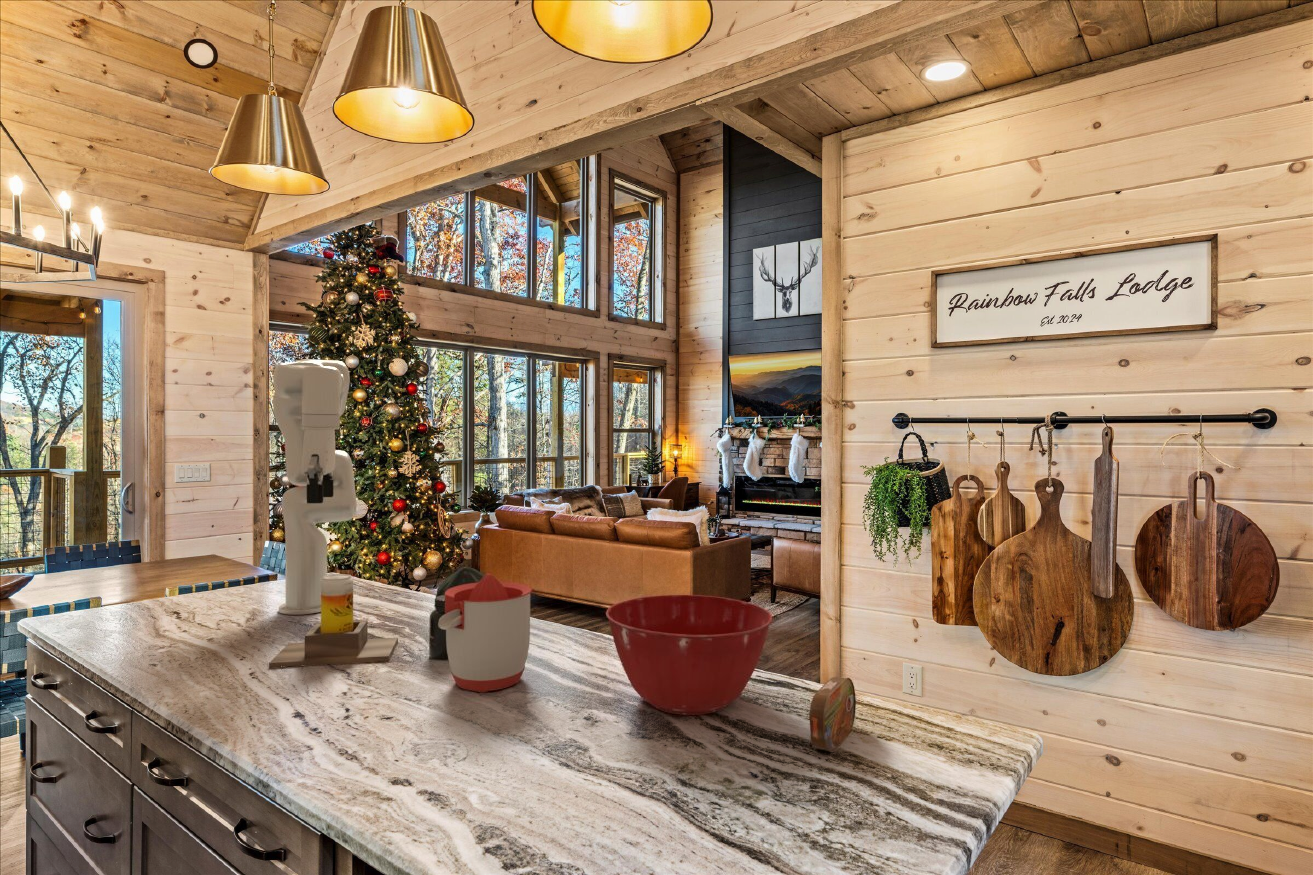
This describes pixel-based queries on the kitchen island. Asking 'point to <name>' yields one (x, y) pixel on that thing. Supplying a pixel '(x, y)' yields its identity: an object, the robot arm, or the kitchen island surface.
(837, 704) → the tin
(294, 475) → the robot arm
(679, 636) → the mixing bowl
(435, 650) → the supplement bottle
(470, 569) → the squash
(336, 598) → the beer can
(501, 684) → the citrus juicer
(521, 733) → the kitchen island surface
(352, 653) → the can caddy
